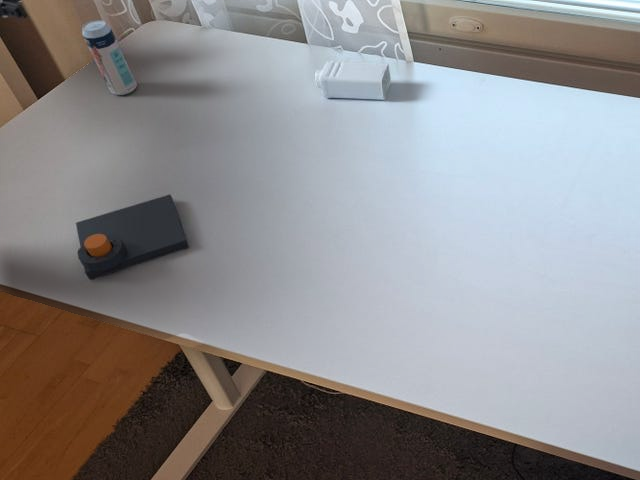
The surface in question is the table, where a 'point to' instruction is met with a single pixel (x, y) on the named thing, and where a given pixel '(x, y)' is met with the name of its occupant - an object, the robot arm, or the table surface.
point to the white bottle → (354, 80)
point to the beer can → (108, 57)
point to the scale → (132, 235)
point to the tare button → (98, 245)
